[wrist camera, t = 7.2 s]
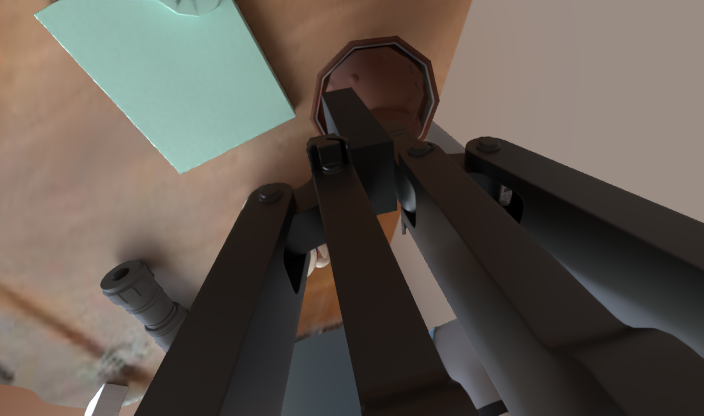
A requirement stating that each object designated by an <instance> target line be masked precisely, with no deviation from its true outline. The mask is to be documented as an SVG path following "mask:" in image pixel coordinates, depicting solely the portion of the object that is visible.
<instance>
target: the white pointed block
mask: <svg viewBox="0 0 704 416" xmlns="http://www.w3.org/2000/svg"><path fill="white" fill-rule="evenodd" d="M127 389H128V387H127V386H120V385H114V384H107V383H105V384H104V385H103V386H102V388H101V389H100V390H99V391H98V393H97V394H96V395H95V396H94V398H93V399H92V400H91V401H90V403H89V405H88V408H87V410H86V412H85V415H84V416H118V414H119V411H120V409H121V406H122V403H123V400H124V398H125V395H126V392H127Z"/></svg>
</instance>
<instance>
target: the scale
mask: <svg viewBox="0 0 704 416" xmlns="http://www.w3.org/2000/svg"><path fill="white" fill-rule="evenodd" d="M34 16H35V17H36V18H37V19H38V20H39V21H40V22H41V23H42V24H43V25H44V26H45V28H46V29H47V30H48V31H49V32H50V33H51V34H52V35H53V36H54V37H55V38H56V39H57V41H58V42H59V43H60V44H61V45H62V46H63V47H64V48H65V49H66V50H67V51H68V53H69V54H70V55H71V56H72V57H73V58H74V59H75V60H76V61H77V62H78V63H79V64H80V66H81V67H82V68H83V69H84V70H85V71H86V72H87V73H88V74H89V75H90V76H91V77H92V79H93V80H94V81H95V82H96V83H97V84H98V85H99V86H100V87H101V88H102V89H103V91H104V92H105V93H106V94H107V95H108V96H109V97H110V98H111V99H112V100H113V101H114V102H115V104H116V105H117V106H118V107H119V108H120V109H121V110H122V111H123V112H124V113H125V114H126V116H127V117H128V118H129V119H130V120H131V121H132V122H133V123H134V124H135V125H136V126H137V127H138V129H139V130H140V131H141V132H142V133H143V134H144V135H145V136H146V137H147V138H148V139H149V140H150V142H151V143H152V144H153V145H154V146H155V147H156V148H157V149H158V150H159V151H160V152H161V154H162V155H163V156H164V157H165V158H166V159H167V160H168V161H169V162H170V163H171V164H172V165H173V167H174V168H175V169H176V170H177V171H178V172H179V173H180V174H182V173H184V172H186V171H188V170H190V169H192V168H194V167H196V166H198V165H200V164H202V163H204V162H206V161H208V160H210V159H212V158H214V157H216V156H218V155H220V154H222V153H224V152H226V151H228V150H230V149H232V148H234V147H236V146H238V145H240V144H242V143H244V142H246V141H248V140H250V139H252V138H254V137H256V136H258V135H260V134H262V133H264V132H266V131H268V130H270V129H272V128H274V127H276V126H278V125H280V124H282V123H284V122H286V121H288V120H290V119H292V118H294V117H296V113H295V109H294V108H293V106H292V104H291V102H290V100H289V99H288V97H287V95H286V93H285V91H284V89H283V88H282V86H281V84H280V82H279V80H278V78H277V77H276V75H275V73H274V71H273V69H272V67H271V66H270V64H269V62H268V60H267V58H266V56H265V55H264V53H263V51H262V49H261V47H260V46H259V44H258V42H257V40H256V38H255V36H254V35H253V33H252V31H251V29H250V27H249V25H248V24H247V22H246V20H245V18H244V16H243V14H242V13H241V11H240V9H239V7H238V5H237V4H236V2H235V0H58V1H56V2H54V3H53V4H51V5H49V6H47V7H45V8H44V9H42V10H40V11H38V12H37V13H35V14H34Z"/></svg>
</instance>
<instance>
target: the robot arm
mask: <svg viewBox="0 0 704 416" xmlns="http://www.w3.org/2000/svg"><path fill="white" fill-rule="evenodd" d="M321 97H322V102H323V108H324V113H325V118H326V124H327V129H328V134H326V135H321V136H317V137H312V138H310V139H309V141H308V142H307V149H306V150H307V154H308V159H309V163H310V167H311V171H312V177H311V179H310V180H309V181H308V182H307V183H306V184H305V185H303V186H301V187H299V188H297V189H295V190H293V189H292V188H291V186H290V185H288V184H285V183H272V184H266V185H265V186H264V185H263V186H261V187H259V188H258V189H257V190H255V191H254V192H252V194H251V195H250V196H249V197H248V199H247V201H246V203H245V205H244V207H243V209H242V211H241V212H240V214H239V216H238V218H237V220H236V222H235V224H234V226H233V228H232V230H231V232H230V233H229V235H228V237H227V239H226V241H225V243H224V245H223V247H222V249H221V251H220V252H219V254H218V256H217V258H216V260H215V262H214V264H213V266H212V268H211V270H210V272H209V273H208V275H207V277H206V279H205V281H204V283H203V285H202V287H201V289H200V291H199V292H198V294H197V296H196V298H195V300H194V302H193V304H192V306H191V308H190V310H189V312H188V313H187V315H186V317H185V319H184V321H183V323H182V325H181V327H180V329H179V331H178V332H177V334H176V336H175V338H174V340H173V342H172V344H171V346H170V348H169V350H168V351H167V353H166V355H165V357H164V359H163V361H162V363H161V365H160V367H159V369H158V371H157V372H156V374H155V376H154V378H153V380H152V382H151V384H150V386H149V388H148V390H147V391H146V393H145V395H144V397H143V399H142V401H141V403H140V405H139V407H138V409H137V411H136V412H135V414H134V416H281V411H282V406H283V401H284V395H285V390H286V385H287V380H288V375H289V369H290V364H291V359H292V354H293V349H294V343H295V338H296V333H297V328H298V323H299V317H300V312H301V307H302V302H303V297H304V291H305V286H306V281H307V276H308V271H309V265H310V260H311V250H313V249H315V248H317V247H319V246H321V245H323V244H325V243H327V247H328V252H329V257H330V262H331V266H332V271H333V276H334V281H335V286H336V290H337V295H338V300H339V305H340V309H341V314H342V319H343V324H344V328H345V333H346V338H347V343H348V348H349V352H350V357H351V362H352V367H353V371H354V376H355V380H356V386H357V391H358V395H359V400H360V406H361V413H362V416H704V223H702V222H700V221H697V220H695V219H693V218H690V217H688V216H685V215H683V214H680V213H678V212H676V211H673V210H671V209H669V208H666V207H664V206H661V205H659V204H657V203H654V202H652V201H649V200H647V199H644V198H642V197H640V196H637V195H635V194H633V193H630V192H628V191H625V190H623V189H621V188H618V187H616V186H613V185H611V184H609V183H606V182H604V181H601V180H599V179H597V178H594V177H592V176H589V175H587V174H584V173H582V172H580V171H577V170H575V169H572V168H570V167H568V166H565V165H563V164H561V163H558V162H556V161H553V160H551V159H549V158H546V157H544V156H541V155H539V154H537V153H534V152H532V151H529V150H527V149H524V148H522V147H520V146H517V145H515V144H513V143H510V142H508V141H505V140H502V139H499V138H492V137H479V138H476V139H473V140H471V141H469V142H468V143H467V144H466V147H465V153H458V154H446V153H445V152H444V151H443V150H442V149H441V148H440V147H439V146H438V145H436V144H434V143H432V142H426V141H419V140H418V139H417V138H416V137H415V136H414V135H413V134H412V133H411V132H410V131H409V130H408V129H407V128H406V127H405V126H404V125H403V124H402V123H400V122H398V121H395V120H390V121H385V122H380V123H379V121H378V120H377V119H376V118H375V116H374V115H373V114H372V112H371V111H370V110H369V109H368V107H367V106H366V105H365V104H364V102H363V101H362V100H361V98H360V97H359V96H358V95H357V93H356V92H355V91H354V90H353V88H352V87H349V88H344V89H339V90H333V91H328V92H323V93H321ZM504 186H505V187H507V188H509V189H510V190H512V191H513V192H512V197H511V201H510V203H509V204H508V203H506V202H504V201H502V196H503V191H504ZM397 199H398V201H399V203H400V204H401V221H402V233H403V235H404V234H406V228H408V230H409V232H410V233H411V235H412V237H413V239H414V241H415V242H416V244H417V246H418V248H419V250H420V252H421V253H422V255H423V257H424V259H425V261H426V263H427V264H428V266H429V268H430V270H431V272H432V273H433V275H434V277H435V279H436V281H437V282H438V284H439V286H440V288H441V289H442V291H443V293H444V295H445V297H446V298H447V301H448V302H449V304H450V306H451V308H452V309H453V311H454V313H455V315H456V317H457V319H455V320H452V321H450V322H448V323H445V324H443V325H441V326H439V327H434V328H433V329H432V330H431V331H428V329H427V327H426V325H425V322H424V320H423V318H422V316H421V314H420V311H419V309H418V307H417V305H416V303H415V301H414V298H413V296H412V294H411V291H410V290H409V287H408V285H407V283H406V280H405V278H404V276H403V274H402V272H401V269H400V267H399V265H398V263H397V261H396V258H395V256H394V254H393V252H392V250H391V247H390V245H389V243H388V241H387V239H386V236H385V234H384V232H383V230H382V228H381V225H380V223H379V221H378V219H377V217H376V215H379V214H383V213H388V212H392V211H396V210H397Z"/></svg>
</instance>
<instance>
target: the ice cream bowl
mask: <svg viewBox="0 0 704 416" xmlns="http://www.w3.org/2000/svg"><path fill="white" fill-rule="evenodd" d="M349 87H352V88H353V90H354V91H355V92H356V93H357V95H358V96H359V97H360V98H361V100H362V101H363V102H364V104H365V105H366V106H367V107H368V109H369V110H370V111H371V112H372V114H373V115H374V116H375V118H376V119H377V120H378V121H379V123H380V122H385V121H390V120H395V121H398V122H400V123H402V124H403V125H404V126H405V127H406V128H407V129H408V130H409V131H410V132H411V133H412V134H413V135H414V136H415V137H416V138H417V139H418V140H419V141H423V140H424V139H425V138H426V135H427V132H428V130H429V127H430V125H431V122H432V119H433V117H434V114H435V111H436V109H437V106H438V103H439V101H440V100H439V96H438V91H437V87H436V82H435V78H434V73H433V69H432V64H431V61H430V60H429V59H428V58H426V57H425V56H424V55H422V54H421V53H420V52H418V51H417V50H416V49H414V48H413V47H412V46H410V45H409V44H408V43H406V42H405V41H404V40H402V39H401V38H400V37H398V36H390V37H381V38H373V39H364V40H355V41H350V42H349V43H348V44H347V45H346V46H345V47H344V48H343V49H342V50H341V51H340V52H339V53H338V54H337V55H336V56H335V57H334V58H333V59H332V60H331V61H330V62H329V63H328V64H327V65H326V66H325V67H324V68H323V69H322V70H321V71H320V72H319V73H318V75H317V81H316V87H315V93H314V99H313V105H312V111H311V117H310V120H311V122H312V124H313V126H314V128H315V130H316V132H317V134H318V136H321V135H326V134H328V129H327V124H326V118H325V113H324V108H323V102H322V97H321V93H323V92H328V91H333V90H339V89H344V88H349Z"/></svg>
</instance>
